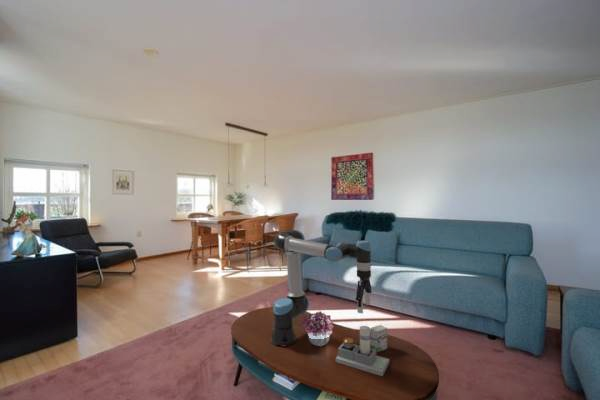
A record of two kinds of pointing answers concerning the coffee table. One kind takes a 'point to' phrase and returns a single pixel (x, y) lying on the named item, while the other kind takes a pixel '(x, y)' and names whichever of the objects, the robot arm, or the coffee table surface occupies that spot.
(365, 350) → the cartridge
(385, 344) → the ink box
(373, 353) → the housing
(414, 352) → the coffee table surface
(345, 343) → the orange piece
